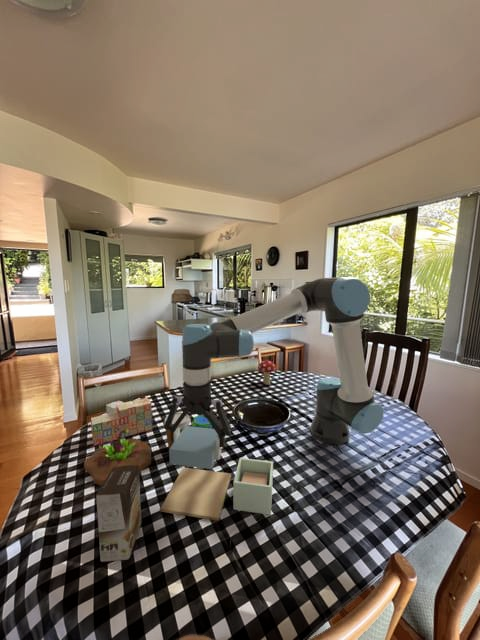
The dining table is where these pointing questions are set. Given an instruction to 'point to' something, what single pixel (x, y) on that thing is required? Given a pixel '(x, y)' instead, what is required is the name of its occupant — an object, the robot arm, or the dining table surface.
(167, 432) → the disposable coffee cup
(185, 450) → the lid
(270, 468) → the storage box
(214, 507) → the cork mat
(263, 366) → the decorative mushroom
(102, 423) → the stack of blocks
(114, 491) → the coffee box
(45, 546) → the dining table surface
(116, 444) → the plant
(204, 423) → the snack cup
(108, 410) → the skincare box
